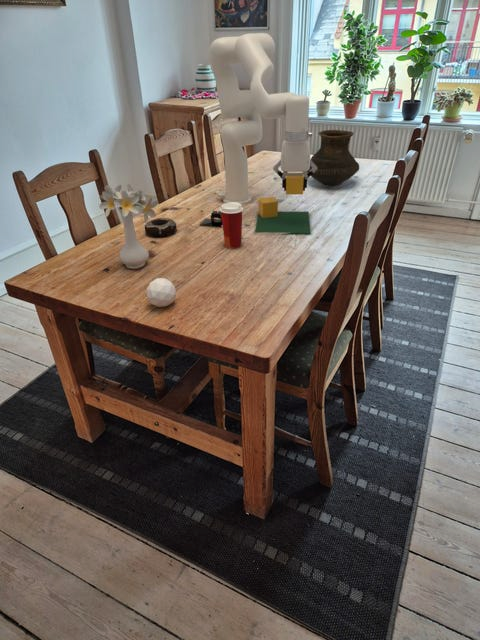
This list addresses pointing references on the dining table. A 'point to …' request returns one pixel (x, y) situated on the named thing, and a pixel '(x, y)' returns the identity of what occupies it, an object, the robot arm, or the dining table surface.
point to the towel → (284, 223)
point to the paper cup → (232, 224)
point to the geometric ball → (161, 292)
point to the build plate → (213, 220)
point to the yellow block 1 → (268, 207)
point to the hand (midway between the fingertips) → (294, 189)
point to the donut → (160, 227)
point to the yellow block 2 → (294, 183)
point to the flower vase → (129, 221)
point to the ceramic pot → (334, 158)
